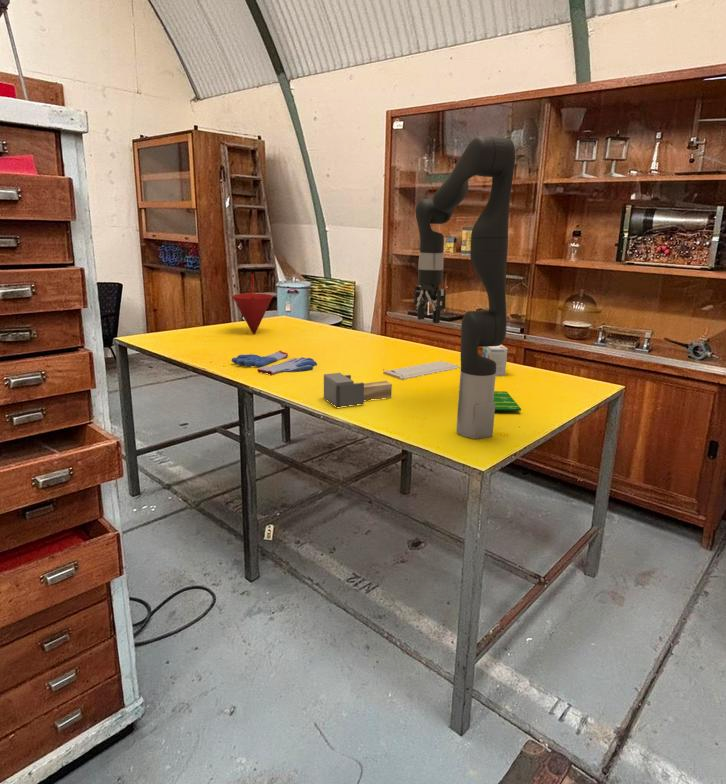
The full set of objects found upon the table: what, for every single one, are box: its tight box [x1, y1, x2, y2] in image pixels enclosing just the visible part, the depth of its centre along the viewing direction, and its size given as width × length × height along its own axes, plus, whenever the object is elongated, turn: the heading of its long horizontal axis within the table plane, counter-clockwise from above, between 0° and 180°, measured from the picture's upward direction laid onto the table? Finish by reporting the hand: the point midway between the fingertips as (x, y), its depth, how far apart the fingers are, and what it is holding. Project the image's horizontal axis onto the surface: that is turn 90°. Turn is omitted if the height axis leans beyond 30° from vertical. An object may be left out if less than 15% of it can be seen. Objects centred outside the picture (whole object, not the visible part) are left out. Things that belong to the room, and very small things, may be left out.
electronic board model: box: [493, 390, 522, 412], centre depth 186 cm, size 30×7×15 cm
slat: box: [363, 380, 393, 401], centre depth 184 cm, size 4×18×5 cm, turn 115°
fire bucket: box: [231, 273, 274, 335], centre depth 280 cm, size 22×20×30 cm
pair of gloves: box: [231, 350, 318, 376], centre depth 226 cm, size 32×26×4 cm
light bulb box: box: [481, 344, 509, 377], centre depth 219 cm, size 11×7×11 cm, turn 5°
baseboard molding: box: [382, 360, 461, 381], centre depth 220 cm, size 31×3×12 cm
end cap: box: [323, 372, 365, 408], centre depth 180 cm, size 11×9×8 cm
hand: (428, 321), depth 179 cm, fingers open, 8 cm apart
